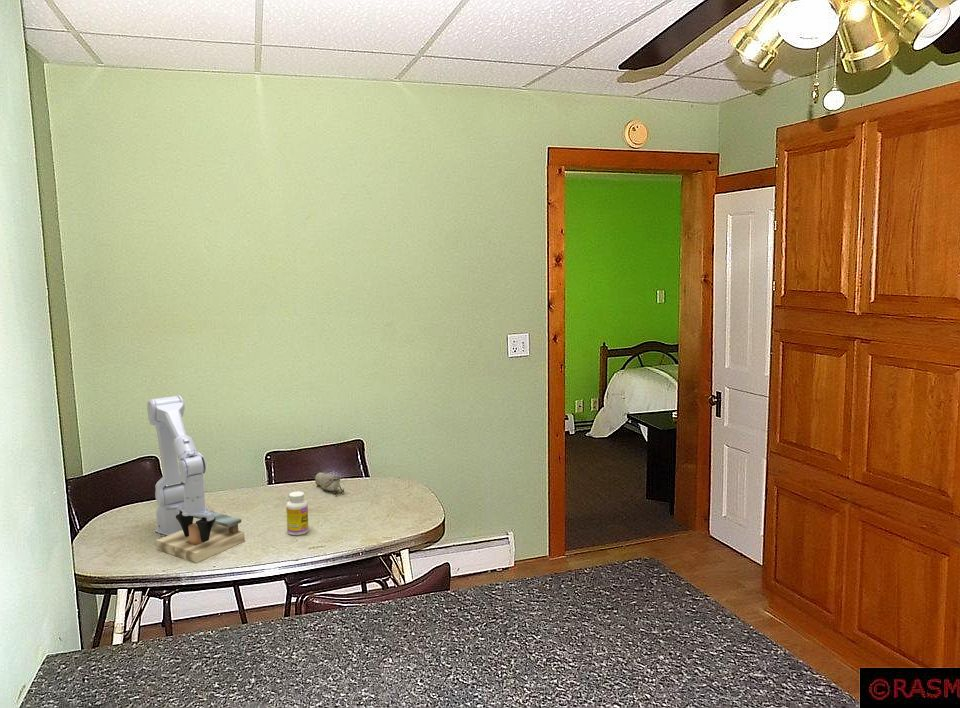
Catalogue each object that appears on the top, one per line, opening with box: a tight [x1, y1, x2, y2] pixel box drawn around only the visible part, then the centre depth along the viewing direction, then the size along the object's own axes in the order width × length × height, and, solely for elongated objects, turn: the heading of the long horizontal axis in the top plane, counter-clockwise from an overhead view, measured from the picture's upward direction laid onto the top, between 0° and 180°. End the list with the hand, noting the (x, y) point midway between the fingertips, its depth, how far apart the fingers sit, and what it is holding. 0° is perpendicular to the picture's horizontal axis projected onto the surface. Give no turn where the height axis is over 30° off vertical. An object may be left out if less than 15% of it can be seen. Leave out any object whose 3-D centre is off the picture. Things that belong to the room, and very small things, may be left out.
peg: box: [188, 522, 203, 546], centre depth 223 cm, size 4×4×8 cm
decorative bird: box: [314, 472, 345, 496], centre depth 276 cm, size 5×16×8 cm, turn 44°
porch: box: [156, 509, 245, 564], centre depth 227 cm, size 18×18×7 cm
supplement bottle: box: [285, 490, 309, 536], centre depth 237 cm, size 7×7×13 cm
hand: (196, 538), depth 224 cm, fingers open, 7 cm apart
